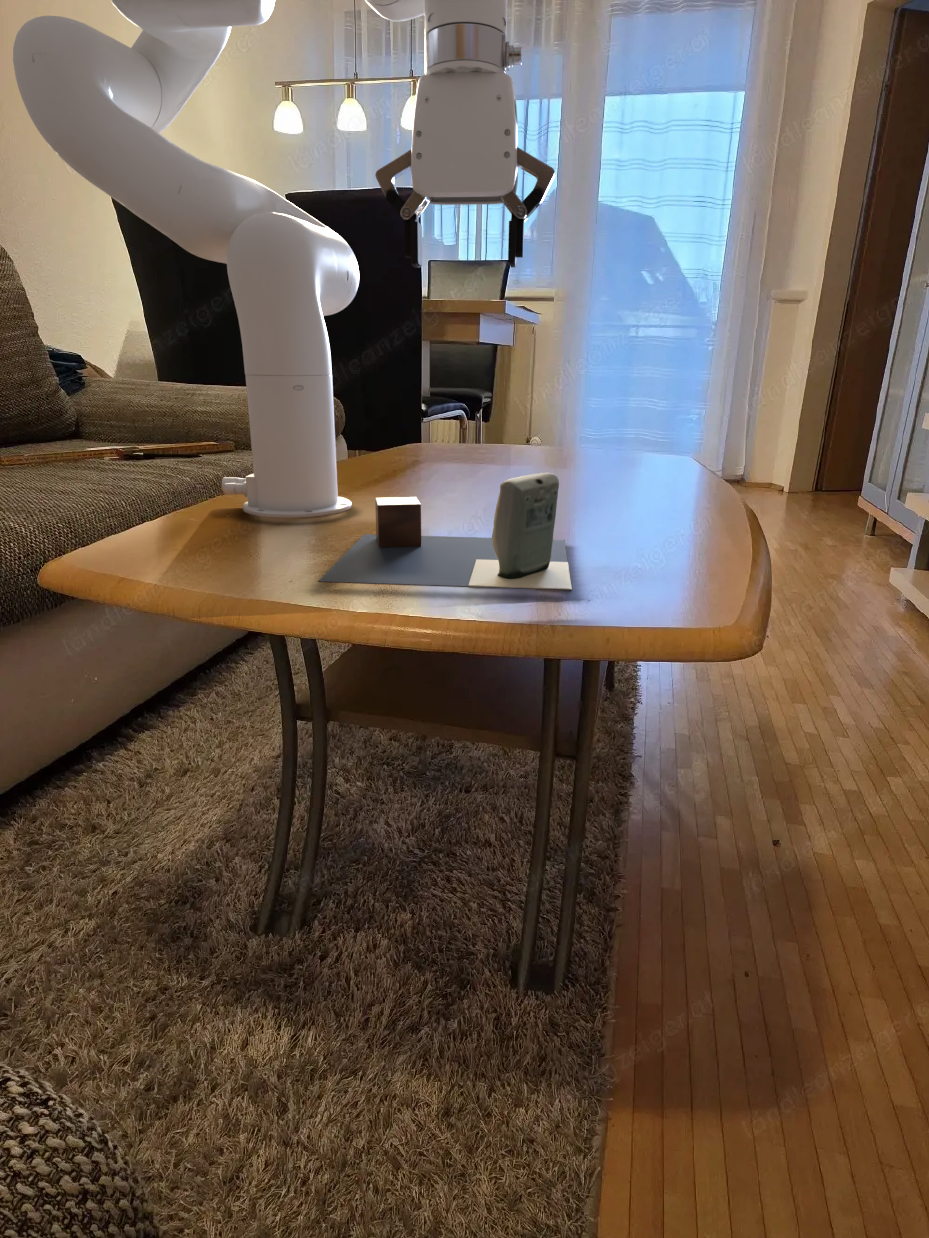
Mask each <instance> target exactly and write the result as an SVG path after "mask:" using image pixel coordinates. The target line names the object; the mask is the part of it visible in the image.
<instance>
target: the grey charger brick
mask: <svg viewBox="0 0 929 1238" xmlns="http://www.w3.org/2000/svg"><path fill="white" fill-rule="evenodd" d="M559 488H560V481H559V477H558V476H557V475H556V474H555V473H551V472H540V473H539V472H538V473H532V474H531V473H530V474H527V475H525V474H524V475H520V476H515V477H511V478H509V479H506V480H504V481H503V482H501V483H500V485H499V494H498V497H497V502H496V505H495V511H494V516H493V528H492V534H491V538H492V544H493V547H494V551H495V554H496V556H497V558H498V561H499V573H498V574H497V575H498V576H500V577H502V578H506V579H517V578H522V577H524V576H527V575H530V574H533V573H537V572H539V571H543V570H546V569H547V568H548V567H549V563H550V559H551V551H552V542H553V540H554V532H555V523H556V517H557V516H556V515H557V505H558V496H559Z"/></svg>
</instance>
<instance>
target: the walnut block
mask: <svg viewBox="0 0 929 1238" xmlns="http://www.w3.org/2000/svg"><path fill="white" fill-rule="evenodd" d="M374 503H375V504H374V507H375V535H376V538H377V542H378V545H379V547H410V546H421V536H422V504H421V503H420V501H419V499H418V497H417V496H388V497H387V496H386V497H384V496H383V497H375V498H374Z"/></svg>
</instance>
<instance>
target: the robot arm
mask: <svg viewBox="0 0 929 1238" xmlns="http://www.w3.org/2000/svg"><path fill="white" fill-rule="evenodd" d="M110 2H111V3H112V5H113V6H114V7H115V8H116V10H117V11H118V12H119V13H120V14H121V15H122V16H123V17H124V18H125V19H127V21H129V22H130V23H132V24H133V25H134V26H136V27H138V28H140V29H141V30H142V31H141V32H140V34H139V35H138V37H137V39H135V41H134V43H133V44H132V46H131V47H130V46H128V45H127V44H124V43H123V42H120V41H119V40H117V39H115V38H114V37H112V36H110V35H107V34H106V33H104V32H102V31H100V30H98V29H97V28H94V27H92V26H90V25H88V24H87V23H85V22H81V21H79V20H76V19H73V18H69V17H66V16H59V15H41V16H35V17H34V18H32V19H29V20H28V21H26V22H25V23H24V24H23V25H21V27H20V28H19V29H18V31H17V33H16V35H15V39H14V42H13V47H12V63H13V69H14V75H15V80H16V85H17V88H18V91H19V94H20V98H21V99H22V103H23V105H24V107H25V109H26V111H27V114H28V115H29V118H30V120H31V121H32V123H33V125H34V126H35V128H36V129H37V131H38V133H39V134H40V135H41V137H42V138H43V139H44V141H45V142H46V143H47V144H48V146H49V147H50V148H51V149H52V150H53V151H54V153H55V154H57V155H58V157H60V159H61V160H62V161H63V162H64V163H66V165H68V166H69V167H70V168H71V169H73V170H74V171H75V172H76V173H78V174H79V176H81V177H82V178H84V179H85V180H87V181H88V182H89V183H90V184H92V185H93V186H94V187H96V189H97V188H98V189H99V190H100V191H102V192H103V193H105V194H106V195H108V196H109V197H110V198H112V199H113V200H115V201H116V202H117V203H118V204H120V205H122V206H124V207H125V208H126V209H127V210H129V212H131V213H133V215H135V216H137V217H138V218H139V219H141V220H142V221H144V222H145V223H146V224H149V225H150V226H151V227H152V228H154V229H156V230H157V231H158V232H160V233H161V234H163V235H164V236H166V237H167V238H168V239H170V240H171V241H173V242H174V243H176V244H177V245H178V246H179V247H181V248H182V249H183V250H185V251H186V252H187V253H190V254H191V255H194V256H195V257H198V258H201V259H204V260H207V261H212V262H216V263H220V264H221V263H222V264H225V265H226V270H227V276H228V277H227V278H228V282H229V286H230V291H231V293H232V294H231V296H232V299H233V301H234V302H233V303H234V307H235V310H236V315H237V319H238V326H239V331H240V332H239V333H240V339H241V345H242V357H243V368H244V375H245V386H246V396H247V397H246V398H247V408H248V409H247V411H248V421H249V422H248V423H249V435H250V446H251V458H252V459H251V460H252V470H253V473H250V474H248V475H246V476H245V478H241V477H234V476H233V477H232V476H231V477H230V476H229V477H228V476H224V477H223V478H222V479H221V490H222V491H223V493H224V494H225V495H226V496H238V495H241V496H242V495H243V497H245V498H246V499H247V501H246V502H244V503H243V504H242V511H243V512H244V513H247V514H249V515H252V516H258V517H265V518H281V519H282V518H293V519H295V518H311V517H312V518H313V517H321V516H329V515H334V514H335V515H336V514H339V513H343V512H345V511H348V510H350V509H351V508H352V501H351V500H350V499H348V498H347V497H343V496H339V490H338V487H339V486H338V469H337V448H336V447H337V446H336V427H335V405H334V385H333V383H334V382H333V370H332V355H331V346H330V339H329V334H328V330H327V326H326V322H325V318H324V317H326V316H332V315H335V314H337V313H339V312H341V311H343V310H344V309H345V308H347V307H348V306H349V305H350V304H351V303H352V302H353V300H354V299H355V297H356V295H357V292H358V288H359V286H360V285H359V284H360V270H359V264H358V261H357V258H356V255H355V253H354V251H353V249H352V248H351V245H349V244H348V242H347V241H346V240H345V239H344V238H343V237H342V236H341V235H339V233H337V232H335V231H334V230H333V229H331V228H330V227H329V226H327V225H325V224H324V223H322V222H321V221H319V220H318V219H316V218H315V217H313V216H312V215H310V214H309V213H307V212H306V211H304V210H303V209H301V208H299V207H298V206H296V205H295V204H294V203H292V202H290V201H289V200H287V199H286V198H284V197H283V196H281V195H280V194H278V193H277V192H276V191H274V190H272V189H270V188H269V187H267V186H265V185H264V184H262V183H260V182H258V181H256V180H255V179H252V178H250V177H247V176H245V175H242V174H239V173H237V172H234V171H232V170H231V169H230V170H229V169H227V168H225V167H221V166H219V165H215V164H212V163H210V162H207V161H204V160H203V159H200V158H198V157H196V156H195V155H193V154H191V153H190V152H189V151H186V150H185V149H183V148H182V147H180V146H179V145H177V144H175V143H174V142H173V141H171V140H169V139H168V138H167V137H165V136H164V135H163V134H162V133H163V132H164V131H165V130H166V129H167V128H169V126H170V125H172V123H173V122H174V121H175V119H176V118H177V117H178V115H179V114H180V112H181V111H182V110H183V108H184V107H185V105H186V104H187V102H188V101H189V100H190V99H191V97H192V95H193V94H194V92H195V91H196V90H197V89H198V87H199V86H200V84H202V81H204V79H205V78H206V76H207V75H208V73H209V72H210V70H211V69H212V67H213V66H214V65H215V63H216V62H217V60H218V58H219V57H220V55H221V53H222V51H223V50H224V48H225V47H226V44H227V42H228V39H229V36H230V34H231V32H232V31H231V30H232V28H235V27H237V28H238V27H253V26H254V27H255V26H260V25H263V24H264V23H265V22H267V21H268V20H269V18H270V16H271V15H272V13H273V11H274V7H275V2H276V0H110ZM364 2H366V4H367V5H368V6H369V7H370V8H371V9H372V10H373V11H374V12H375V13H376V14H378V15H379V16H380V17H382V18H384V19H386V20H388V21H392V22H405V21H409V20H414V19H417V18H420V17H421V16H424V74H423V75H421V76H420V77H419V78H418V81H417V87H416V94H415V100H414V110H413V118H412V133H411V148H410V149H409V150H407V151H406V152H404V153H403V154H401V155H399V156H398V157H396V158H394V159H393V160H391V161H390V162H388V163H386V164H385V165H383V166H381V167H380V168H379V169H377V170H376V171H375V176H374V177H375V179H376V181H377V183H378V185H379V187H380V190H381V191H382V193H383V194H384V195H383V196H384V197H385V199H386V202H387V203H388V204H389V205H390V206H391V207H392V208H393V209H394V211H395V212H396V213H397V214H398V215H399V216H400V217H401V218H402V219H403V220H404V221H403V223H404V226H403V227H404V256H405V258H406V259H410V265H411V266H412V267H413V268H415V269H417V268H418V269H420V268H421V267H423V226H422V224H421V223H420V216H421V215H422V213H423V212H424V211H425V210H426V209H427V207H428V205H435V206H436V205H437V206H440V205H442V206H443V205H444V206H453V205H454V206H468V205H470V206H471V205H477V206H478V205H479V206H480V205H501V204H503V205H504V206H505V207H506V209H507V210H508V212H509V213H510V215H511V216H510V217H511V218H510V220H508V245H507V248H508V249H507V250H508V251H507V265H508V267H510V268H517V258H524V239H525V238H524V237H525V235H524V234H525V223H526V221H527V220H528V219H529V217H530V216H531V215H532V214H533V213H534V212H535V211H536V210H537V209H538V208H539V206H540V205H542V203H543V201H544V199H545V197H546V195H547V193H548V191H549V189H550V187H551V185H552V183H553V181H554V179H555V176H556V175H555V173H556V172H555V169H554V168H553V167H552V166H551V165H549V164H547V163H546V162H544V161H542V160H540V159H538V158H537V157H535V156H533V155H531V154H530V153H528V152H527V151H525V150H523V149H522V148H520V147H519V134H518V133H519V131H518V129H519V128H518V110H517V109H518V107H517V98H516V91H515V85H514V81H513V79H512V77H511V76H510V75H509V74H508V73H507V72H508V71H510V68H513V67H514V66H521V65H522V53H523V49H522V48H523V47H522V46H514V45H510V41H507V27H508V0H364ZM519 169H521V170H523V171H524V172H526V173H527V174H530V175H532V176H533V177H535V178H536V182H535V183H534V184H535V185H534V187H533V188H532V190H531V191H530V193H529V194H528V195H527V196H526V197H525V198H524V199H523V200H521V199H520V197H519V196H518V195H517V190H518V181H519V180H518V179H519ZM408 172H410V179H411V186H412V187H411V188H412V190H413V192H411V195H409V197H408V198H407V200H406V201H405V200H404V199H403V197H401V196H400V194H399V192H398V190H397V187H396V186H395V181H396V180H397V179H398V178H400V177H402V176H403V175H405V174H406V173H408Z"/></svg>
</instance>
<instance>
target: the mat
mask: <svg viewBox="0 0 929 1238" xmlns="http://www.w3.org/2000/svg"><path fill="white" fill-rule="evenodd" d="M498 573H499V561H498V558H497V556H496V554H495V551H494V547H493V544H492V537H476V536H445V535H444V536H442V535H441V536H440V535H439V536H438V535H421V546H410V547H379V545H378V542H377V538H376V534H374V533H373V534H372V533H371V534H370V533H364V534H363V535H362V536H361V537H360V538H359V539H358V540H357V541H356V542H355V543H354V544H353V545H352V546H351V547H350V548H349V549H348V550H347V551H346V553H344V555H342V556H341V557H340V558H339V560H338V561H336V562H335V563H334V564H333V566H331V568H329V570H327V571H326V573H325V574H324V575H322V577H321V578H319V580H318V581H317V582H318V583H335V584H336V583H338V584H339V583H341V584H366V585H367V584H368V585H369V584H370V585H371V584H372V585H394V586H395V585H398V586H399V585H401V586H424V587H425V586H426V587H427V586H429V587H430V586H431V587H457V588H458V587H459V588H485V589H486V588H488V589H489V588H490V589H515V590H517V589H518V590H544V591H545V590H546V591H547V590H549V591H550V590H551V591H572V590H573V588H572V587H573V586H572V580H571V573H570V566H569V560H568V553H567V547H566V541H565V539H553V542H552V551H551V559H550V563H549V567H548V568H547V569H546V570H543V571H539V572H537V573H533V574H530V575H527V576H524V577H522V578H517V579H506V578H502V577H500V576H498V575H497V574H498Z"/></svg>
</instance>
